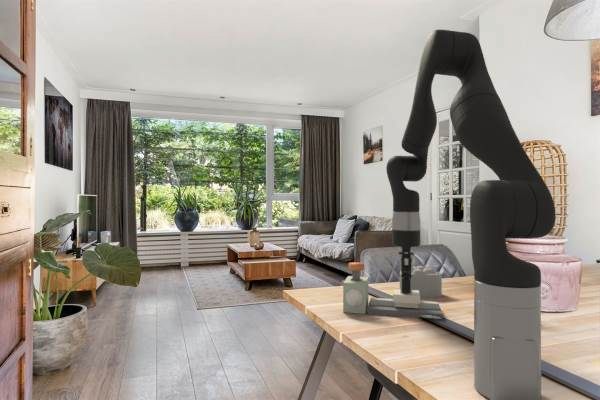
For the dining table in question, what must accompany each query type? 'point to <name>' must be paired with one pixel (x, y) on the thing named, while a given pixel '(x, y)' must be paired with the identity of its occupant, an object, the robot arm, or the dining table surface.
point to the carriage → (406, 296)
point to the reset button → (356, 270)
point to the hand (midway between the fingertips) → (406, 291)
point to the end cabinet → (355, 295)
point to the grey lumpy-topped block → (426, 281)
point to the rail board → (403, 308)
